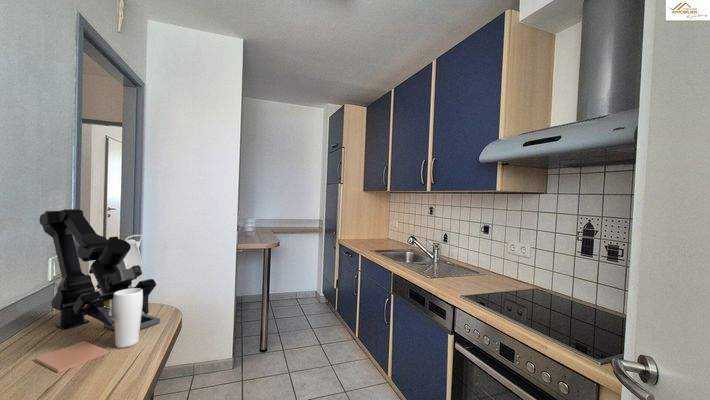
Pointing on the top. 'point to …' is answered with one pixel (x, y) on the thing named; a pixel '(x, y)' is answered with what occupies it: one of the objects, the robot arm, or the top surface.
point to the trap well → (145, 323)
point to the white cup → (127, 316)
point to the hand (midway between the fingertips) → (130, 319)
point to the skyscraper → (130, 264)
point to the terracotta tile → (71, 356)
